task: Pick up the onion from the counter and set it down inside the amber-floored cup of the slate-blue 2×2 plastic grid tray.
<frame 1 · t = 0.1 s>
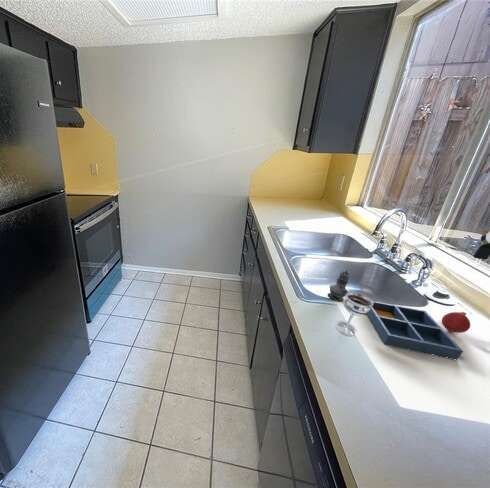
grid: (403, 330, 81), on the worktop
onion: (449, 332, 81), on the worktop
wineglass: (344, 330, 80), on the worktop
dark grey statuette: (335, 297, 95), on the worktop
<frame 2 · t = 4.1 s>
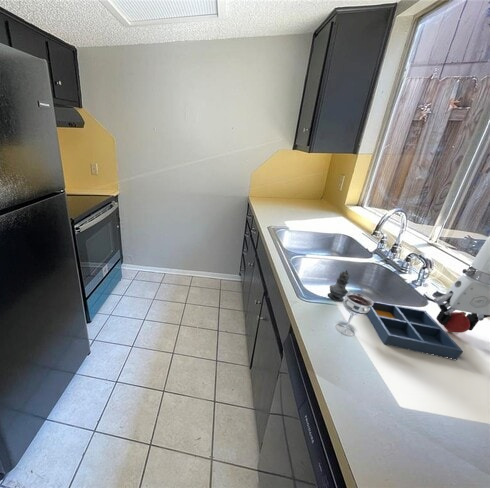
hand: (453, 324, 80), 3 cm above the worktop, tool pointing down, fingers closed on onion, 5 cm apart
onion: (448, 332, 81), on the worktop, touching gripper
everything else where it was.
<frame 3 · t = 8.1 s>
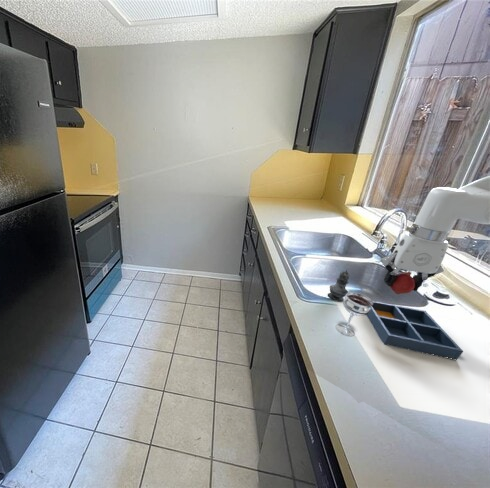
hand: (400, 285, 80), 13 cm above the worktop, tool pointing down, fingers closed on onion, 5 cm apart
onion: (395, 293, 81), point 10 cm above the worktop, touching gripper
everything else where it was.
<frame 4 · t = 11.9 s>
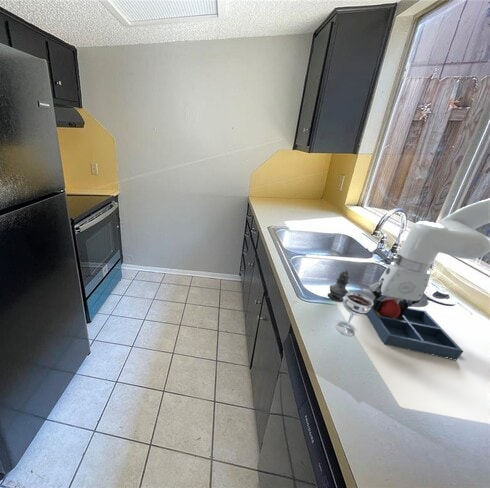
hand: (386, 310, 84), 4 cm above the worktop, tool pointing down, fingers closed on onion, 5 cm apart
onion: (383, 318, 85), point 1 cm above the worktop, touching gripper
everything else where it was.
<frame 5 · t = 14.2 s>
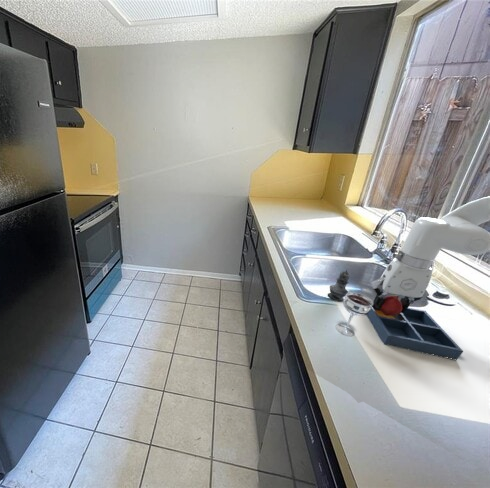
hand: (388, 307, 83), 5 cm above the worktop, tool pointing down, fingers closed on onion, 5 cm apart
onion: (384, 315, 84), point 2 cm above the worktop, touching gripper
everything else where it was.
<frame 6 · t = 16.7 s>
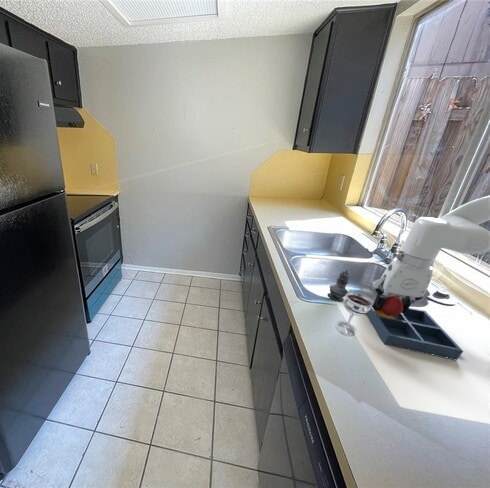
hand: (389, 307, 83), 5 cm above the worktop, tool pointing down, fingers closed on onion, 5 cm apart
onion: (385, 315, 84), point 2 cm above the worktop, touching gripper
everything else where it was.
when the fingers open (5 cm above the worktop, at t = 20.9 s): onion drops 1 cm, resting on grid.
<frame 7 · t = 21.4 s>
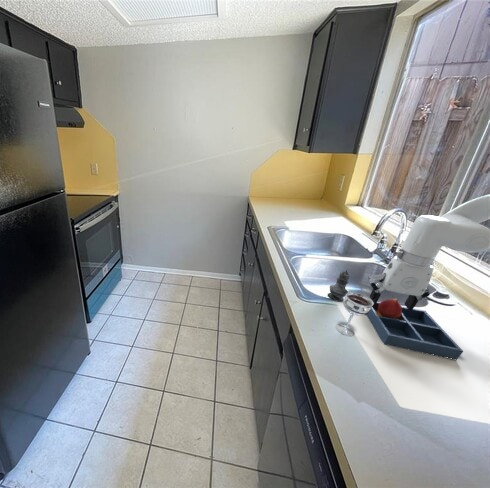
hand: (390, 304, 83), 6 cm above the worktop, tool pointing down, fingers open, 9 cm apart
onion: (384, 318, 85), point 1 cm above the worktop, touching grid
everything else where it was.
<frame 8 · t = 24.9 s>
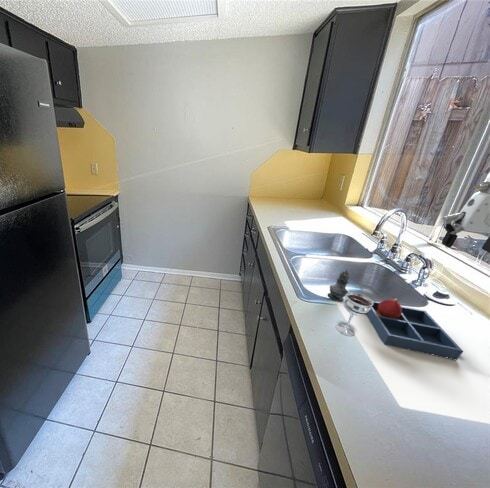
hand: (465, 248, 76), 26 cm above the worktop, tool pointing down, fingers open, 9 cm apart
nothing on the worktop moved.
at the end: onion 0.5 cm from the target spot in the grid, point 0.5 cm above the grid's base; the gripper is holding nothing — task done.
